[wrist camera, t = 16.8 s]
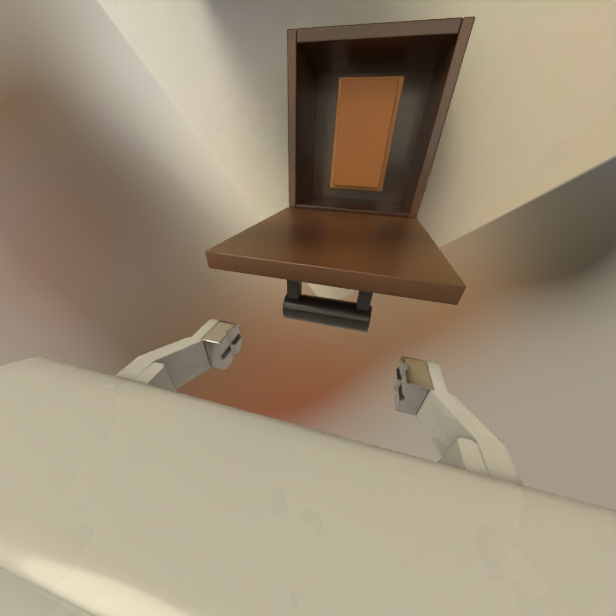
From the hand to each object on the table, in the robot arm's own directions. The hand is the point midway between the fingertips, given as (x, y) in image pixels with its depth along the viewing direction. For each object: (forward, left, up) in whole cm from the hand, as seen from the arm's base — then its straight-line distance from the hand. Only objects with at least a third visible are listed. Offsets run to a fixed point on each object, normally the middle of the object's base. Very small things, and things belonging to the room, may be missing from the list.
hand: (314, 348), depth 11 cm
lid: (+3, -3, -5) cm, 7 cm away
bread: (+7, -6, -17) cm, 20 cm away
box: (+7, -6, -18) cm, 20 cm away
